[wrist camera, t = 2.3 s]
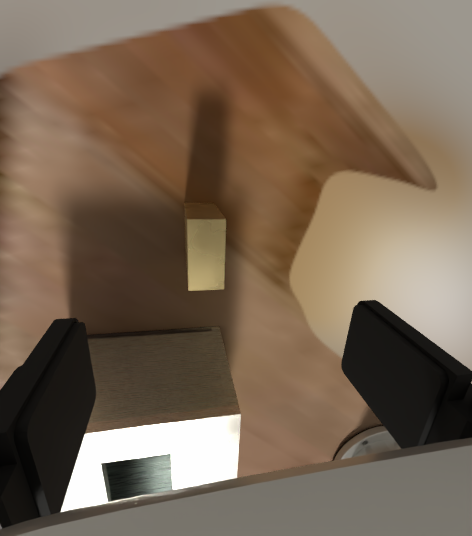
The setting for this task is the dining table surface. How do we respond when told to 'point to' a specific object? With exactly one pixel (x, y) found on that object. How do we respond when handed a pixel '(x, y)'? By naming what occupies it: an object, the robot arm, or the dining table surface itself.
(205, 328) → the box
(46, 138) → the dining table surface
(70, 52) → the dining table surface
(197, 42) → the dining table surface
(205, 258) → the beige rectangular block
